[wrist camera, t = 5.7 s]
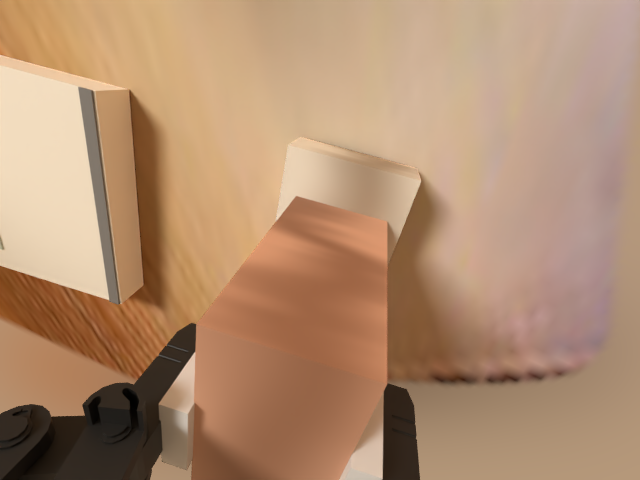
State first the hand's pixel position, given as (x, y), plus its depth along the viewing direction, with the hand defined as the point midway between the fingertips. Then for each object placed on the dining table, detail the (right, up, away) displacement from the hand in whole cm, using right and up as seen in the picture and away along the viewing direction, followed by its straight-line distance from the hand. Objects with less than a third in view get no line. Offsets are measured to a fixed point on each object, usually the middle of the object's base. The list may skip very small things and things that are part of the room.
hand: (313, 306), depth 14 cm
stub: (+1, +2, +3) cm, 4 cm away
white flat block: (-19, +7, +5) cm, 21 cm away
